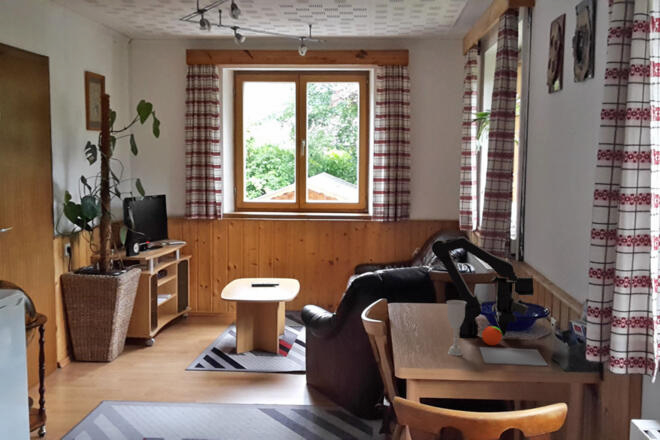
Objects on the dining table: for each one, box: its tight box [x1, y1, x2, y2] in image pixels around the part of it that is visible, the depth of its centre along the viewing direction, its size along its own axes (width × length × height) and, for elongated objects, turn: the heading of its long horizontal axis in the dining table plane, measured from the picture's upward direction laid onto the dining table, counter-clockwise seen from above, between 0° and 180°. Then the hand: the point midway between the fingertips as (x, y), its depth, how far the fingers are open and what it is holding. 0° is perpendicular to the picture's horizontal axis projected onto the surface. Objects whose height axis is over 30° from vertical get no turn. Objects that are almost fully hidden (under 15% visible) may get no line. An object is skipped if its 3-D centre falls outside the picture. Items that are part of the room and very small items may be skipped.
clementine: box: [481, 325, 503, 346], centre depth 234 cm, size 8×7×7 cm
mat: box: [479, 346, 549, 367], centre depth 220 cm, size 20×18×1 cm
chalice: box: [446, 299, 467, 357], centre depth 222 cm, size 7×7×18 cm
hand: (503, 335), depth 242 cm, fingers closed
